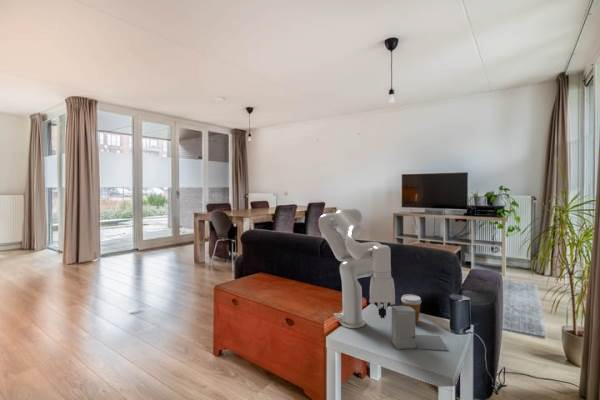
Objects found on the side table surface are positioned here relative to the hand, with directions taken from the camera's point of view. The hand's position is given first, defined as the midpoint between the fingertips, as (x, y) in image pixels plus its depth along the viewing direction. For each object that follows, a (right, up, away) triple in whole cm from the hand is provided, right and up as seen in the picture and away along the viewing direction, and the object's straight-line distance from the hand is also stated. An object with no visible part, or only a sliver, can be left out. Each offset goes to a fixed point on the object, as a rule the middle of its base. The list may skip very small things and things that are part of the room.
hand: (382, 317), depth 129 cm
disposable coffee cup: (+20, -11, +22) cm, 32 cm away
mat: (+20, -11, 0) cm, 23 cm away
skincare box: (+9, -12, -1) cm, 15 cm away
